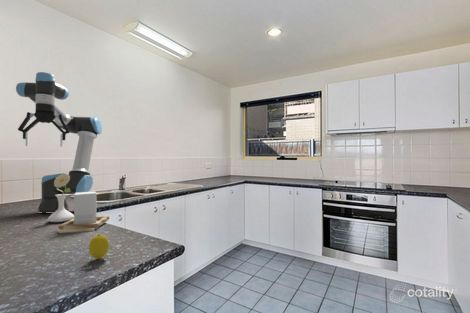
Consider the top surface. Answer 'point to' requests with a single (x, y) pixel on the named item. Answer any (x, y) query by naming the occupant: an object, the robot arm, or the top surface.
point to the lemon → (98, 246)
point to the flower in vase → (61, 201)
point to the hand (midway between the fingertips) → (44, 146)
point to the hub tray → (82, 225)
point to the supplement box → (85, 207)
